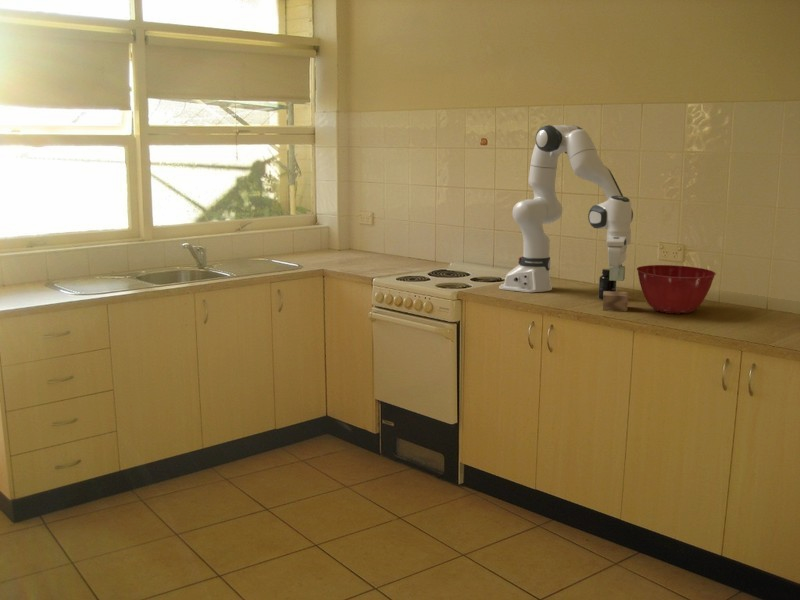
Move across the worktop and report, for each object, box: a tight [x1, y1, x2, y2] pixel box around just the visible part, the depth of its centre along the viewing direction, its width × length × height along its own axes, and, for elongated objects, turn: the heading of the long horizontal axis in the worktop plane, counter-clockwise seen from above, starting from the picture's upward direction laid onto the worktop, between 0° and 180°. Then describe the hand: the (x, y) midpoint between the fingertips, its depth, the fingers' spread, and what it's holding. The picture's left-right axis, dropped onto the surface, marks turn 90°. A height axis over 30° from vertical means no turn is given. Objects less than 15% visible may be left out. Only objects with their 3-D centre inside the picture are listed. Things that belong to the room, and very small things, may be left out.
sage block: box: [609, 265, 626, 282], centre depth 313 cm, size 5×5×5 cm
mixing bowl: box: [636, 264, 717, 315], centre depth 311 cm, size 28×28×16 cm
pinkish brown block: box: [602, 291, 629, 312], centre depth 315 cm, size 9×9×6 cm
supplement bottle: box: [597, 268, 617, 300], centre depth 334 cm, size 7×7×12 cm
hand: (617, 275), depth 313 cm, fingers closed on sage block, 5 cm apart
